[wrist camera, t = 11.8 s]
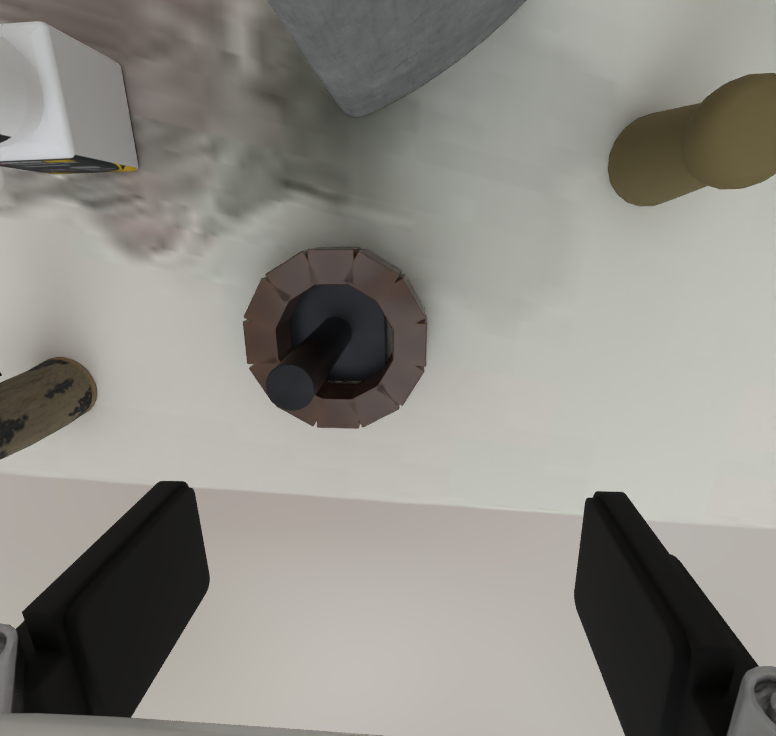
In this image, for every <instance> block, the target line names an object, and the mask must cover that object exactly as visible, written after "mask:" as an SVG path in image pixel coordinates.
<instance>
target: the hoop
mask: <svg viewBox="0 0 776 736" xmlns="http://www.w3.org/2000/svg"><path fill="white" fill-rule="evenodd" d="M400 273H401V269H399V268H397V267H395V266H394V265H392V264H390V263H389V262H387V261H385V260H384V259H382V258H380V257H378V256H377V255H375V254H373V253H372V252H370V251H368V250H367V249H363V250H361V248H360V247H319V248H313V249H308V250H306V251H301V252H300V253H298V254H297V255H295V256H293V257H292V258H290V259H289V260H287V261H286V262H284V263H282V264H281V265H279V266H278V267H276V268H274V269H273V270H271V271H270V272H268V273H267V274H266V277H264V278H262V279H261V281H260V283H259V285H258V287H257V289H256V292H255V294H254V296H253V298H252V300H251V302H250V304H249V307H248V309H247V311H246V313H245V315H244V318H246V319H247V320H245V321H243V327H244V336H245V346H246V356H247V364H253V365H252V366H251V367H250V368H249V369H250V371H251V372H252V373H253V375H254V376H255V378H256V379H257V381H258V382H259V384H260V385H261V387H262V388H263V390H264V391H265V392H266V394H267V391H266V379H267V377H268V375H269V373H270V372H271V371H272V370H273V369H274V368H275V367H276V366H277V365H278V364H279V363H280V362H281V361H282V360H283V359H284V358H285V357H287V356H288V355H289V354H290V353H291V352H292V351H293V350H294V349H293V348H292V346H291V332H290V317H291V315H292V313H293V311H294V309H295V307H296V305H297V303H298V301H299V299H300V297H301V295H302V294H303V293H305V292H307V291H308V290H310V289H312V288H313V287H315V286H317V285H349V286H351V287H352V288H354V289H356V290H358V291H359V292H361V293H363V294H364V295H366V296H368V297H370V298H371V299H373V300H375V301H376V302H377V303H378V305H379V307H380V308H381V310H382V312H383V314H384V315H385V317H386V319H387V320H388V322H389V324H390V325H391V327H392V329H393V353H392V354H391V356H390V358H389V359H388V361H387V363H386V364H385V366H384V368H383V369H382V371H381V372H379V373H377V374H375V375H373V376H371V377H370V378H368V379H366V380H364V381H362V382H360V383H358V384H348V383H330V382H328V381H326V380H325V381H324V382H323V384H322V385H321V387H320V388H319V390H318V391H317V393H316V394H315V396H314V398H313V399H312V401H311V402H310V403H309V404H308V405H307V406H306V407H304V408H303V409H300V410H296V411H289V410H284V409H282V408H280V407H278V406H277V407H278V408H280V409H282V410H284V411H286V412H288V413H289V414H291V415H293V416H295V417H297V418H299V419H300V420H302V421H304V422H306V423H308V424H310V425H311V426H314V424H315V422H316V421H317V427H318V428H359V426H360V424H361V425H362V427H365V426H367V425H369V424H371V423H373V422H375V421H377V420H378V419H380V418H382V417H384V416H386V415H388V414H390V413H392V412H394V411H396V410H398V409H399V405H403V404H404V403H405V401H406V400H407V398H408V396H409V395H410V393H411V392H412V390H413V388H414V387H415V385H416V384H417V382H418V381H419V379H420V377H421V376H422V374H423V373H424V366H426V341H427V318H426V314H425V308H424V307H423V305H422V303H421V301H420V299H419V298H418V296H417V294H416V292H415V291H414V289H413V287H412V285H411V283H410V282H409V280H408V278H407V276H406V275H405V274H403V275H401V276H399V275H400ZM398 276H399V277H398ZM267 395H268V394H267ZM268 397H269V396H268ZM272 403H273V402H272Z"/></svg>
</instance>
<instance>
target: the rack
mask: <svg viewBox="0 0 776 736" xmlns="http://www.w3.org/2000/svg"><path fill="white" fill-rule="evenodd" d="M290 332H291V346H292V348H293V349H294V350H293V351H292V352H291V353H290V354H289V355H288V356H287V357H285V358H284V359H283V360H282V361H281V362H280V363H279V364H278V365H277V366H276V367H275V368H274V369H273V370H272V371H271V372H270V373H269V375H268V377H267V379H266V391H267V394H268V396H269V398H270V400H271V401H272V402H273V403H274V404H275V405H276V406H278V407H280V408H282V409H284V410H289V411H296V410H300V409H303V408H304V407H306V406H307V405H308V404H309V403H310V402H311V401H312V399H313V398H314V396H315V394H316V393H317V391H318V390H319V388H320V387H321V385H322V384H323V382H324V381H325V380H326V381H364V380H366V379H368V378H370V377H371V376H373V375H375V374H377V373H379V372H381V371H382V369H383V368H384V366H385V364H386V363H387V333H386V317H385V315H384V314H383V312H382V310H381V308H380V307H379V305H378V303H377V302H376V301H375V300H373V299H371V298H370V297H368V296H366V295H364V294H363V293H361V292H359V291H358V290H356V289H354V288H352V287H351V286H349V285H317V286H315V287H313V288H312V289H310V290H308V291H307V292H305V293H303V294H302V295H301V297H300V299H299V301H298V303H297V305H296V307H295V309H294V311H293V313H292V315H291V317H290Z"/></svg>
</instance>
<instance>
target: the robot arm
mask: <svg viewBox="0 0 776 736" xmlns="http://www.w3.org/2000/svg"><path fill="white" fill-rule="evenodd" d="M209 581H210V577H209V570H208V565H207V558H206V553H205V547H204V542H203V536H202V531H201V525H200V519H199V514H198V508H197V502H196V497H195V492H194V490H193V488H189V487H188V485H187V483H186V482H184V481H160V482H158V483H157V484H156V485H155V486H154V487H153V488H152V489H151V490H150V491H149V492H147V493H146V495H144V496H143V497H142V498H141V499H140V500H139V501H138V502H137V503H136V504H135V505H134V506H133V507H132V508H131V509H130V510H129V511H128V512H127V513H125V514H124V515H123V516H122V517H121V518H120V519H119V520H118V521H117V522H116V523H115V524H114V525H113V526H112V527H111V528H110V529H109V530H108V531H107V532H106V533H104V534H103V535H102V536H101V537H100V538H99V539H98V540H97V541H96V542H95V543H94V544H93V545H92V546H91V547H90V548H89V549H88V550H87V551H86V552H85V553H83V554H82V555H81V556H80V557H79V558H78V559H77V560H76V561H75V562H74V563H73V564H72V565H71V566H70V567H69V568H68V569H67V570H66V571H65V572H63V573H62V574H61V575H60V576H59V577H58V578H57V579H56V580H55V581H54V582H53V583H52V584H51V585H50V586H49V587H48V588H47V589H46V590H45V591H44V592H42V593H41V594H40V595H39V596H38V597H37V598H36V599H35V600H34V601H33V602H32V603H31V604H30V605H29V606H28V607H27V608H26V609H25V610H24V611H23V612H22V613H23V616H24V620H25V621H24V622H23V623H22V624H21V625H20V626H18V627H17V628H16V629H15V628H13V627H12V626H11V625H7V624H0V736H382V735H368V734H355V733H340V732H328V731H314V730H301V729H286V728H273V727H259V726H245V725H230V724H215V723H200V722H184V721H171V720H170V721H169V720H155V719H141V718H140V719H139V718H131V716H132V715H133V713H134V712H135V710H136V708H137V706H138V705H139V703H140V702H141V700H142V698H143V697H144V695H145V693H146V692H147V690H148V688H149V687H150V685H151V683H152V682H153V680H154V678H155V677H156V675H157V673H158V672H159V670H160V668H161V667H162V665H163V664H164V662H165V660H166V659H167V657H168V655H169V654H170V652H171V650H172V649H173V647H174V645H175V644H176V642H177V640H178V638H179V637H180V635H181V633H182V632H183V630H184V629H185V627H186V625H187V624H188V622H189V620H190V619H191V617H192V615H193V614H194V612H195V610H196V609H197V607H198V606H199V604H200V602H201V601H202V599H203V597H204V596H205V594H206V592H207V590H208V587H209ZM574 599H575V605H576V609H577V612H578V614H579V617H580V620H581V622H582V625H583V627H584V630H585V633H586V635H587V638H588V640H589V643H590V646H591V648H592V651H593V653H594V656H595V659H596V661H597V664H598V666H599V669H600V671H601V673H602V677H603V679H604V682H605V685H606V687H607V690H608V692H609V695H610V697H611V700H612V703H613V705H614V708H615V710H616V713H617V715H618V718H619V721H620V723H621V726H622V728H623V731H624V734H625V736H776V667H773V666H762V667H760V666H758V665H757V663H756V662H755V661H754V659H753V658H752V657H751V655H750V654H749V653H748V651H747V650H746V649H745V647H744V646H743V645H742V643H741V642H740V641H739V639H738V638H737V637H736V635H735V634H734V633H733V631H732V630H731V629H730V627H729V626H728V625H727V623H726V622H725V621H724V619H723V618H722V616H721V615H720V614H719V612H718V611H717V610H716V608H715V607H714V606H713V605H712V603H711V602H710V601H709V599H708V598H707V597H706V595H705V594H704V593H703V591H702V590H701V588H700V587H699V586H698V584H697V583H696V582H695V581H694V579H693V578H692V576H691V575H690V574H689V573H688V571H687V570H686V568H685V567H684V566H683V564H682V563H681V562H680V561H679V560H678V559H677V558H676V557H675V556H673V555H670V554H669V553H668V551H667V550H666V549H665V547H664V546H663V544H662V543H661V542H660V540H659V539H658V538H657V536H656V535H655V534H654V532H653V531H652V530H651V528H650V527H649V525H648V524H647V523H646V521H645V520H644V519H643V517H642V516H641V514H640V513H639V512H638V510H637V509H636V508H635V506H634V505H633V504H632V502H631V501H630V500H629V498H628V497H627V495H626V494H625V493H623V492H602V491H597V492H595V494H594V496H593V498H587V499H586V502H585V508H584V517H583V525H582V533H581V541H580V549H579V557H578V567H577V574H576V582H575V590H574Z"/></svg>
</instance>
